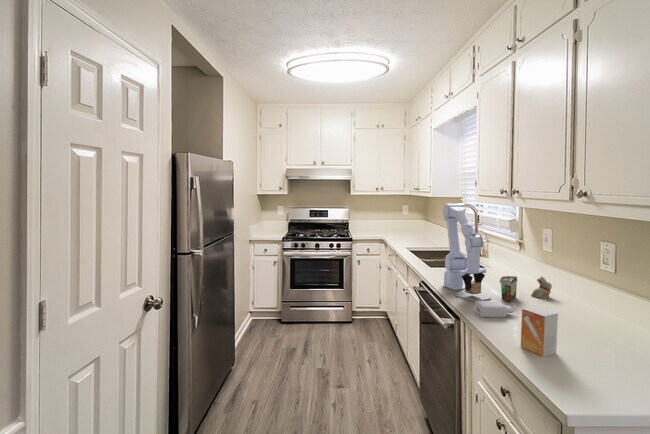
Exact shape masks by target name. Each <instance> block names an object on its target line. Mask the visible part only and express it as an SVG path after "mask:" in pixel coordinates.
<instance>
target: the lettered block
mask: <svg viewBox="0 0 650 434" xmlns="http://www.w3.org/2000/svg"><path fill="white" fill-rule="evenodd" d="M464 287H465V286H464ZM464 293H470V294H480V295H481V293H482V282H481V283H480V282H477V281H474V280H472V281H471V289H470V290H467V289H466V287H465V289H464Z"/></svg>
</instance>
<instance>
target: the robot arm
mask: <svg viewBox="0 0 650 434" xmlns="http://www.w3.org/2000/svg"><path fill="white" fill-rule="evenodd" d="M442 214H443V220H444V221H445V222H446V227H447V237H448V246H449V253H448V254H446V255H445V258H444V259H445V261H444V268H445V269H446V270H445V271H444V275H443V285H442V287H445V288H447V289H450V290H454V291H457V290H465V287H466V289H467V290H470V289H471V281H477V282H480V283H481V284H482V282H483V279H484V278H486V277H485V276H486V273H487V268H483V267H482V268H480V267H481V266H480V265H481V263H480V262H481V261H480V260H481V248H482V247H483V244H484V240H483V237H482V236H481V235H479V234H478V233H477V232H476V230H475V227H474V226H473V225H472V224H471V223H469V221H468V219H467V216H466V206H465V204H464V203H445V204H444V205H443V209H442ZM457 223H459V225H460V226H461V227H460V232H461V234H462V235H463V238H464V246H465V251H466V255H465V254H464V253H462V252H461V248H460V241H459V233H458V232H459V231H458V224H457ZM471 275H473V276H471Z"/></svg>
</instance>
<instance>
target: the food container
mask: <svg viewBox="0 0 650 434" xmlns="http://www.w3.org/2000/svg"><path fill="white" fill-rule="evenodd" d="M499 284H500V285H501V286H500V288H501V289H500V290H501V300H502V301H504V302H506V303H513V302H514V301H515V299H516V298H517V286H518V285H517V284H518V276H514V275H512V276H511V275H507V276H506V275H504V276H501V277H500V278H499Z"/></svg>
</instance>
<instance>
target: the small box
mask: <svg viewBox="0 0 650 434" xmlns="http://www.w3.org/2000/svg"><path fill="white" fill-rule="evenodd" d="M558 316H559V314H558V312H554V311H551V310H548V309H544V308H541V307H538V306H536V305H535V306H530V307H525V308H522V310H521V331H520V348H523V349H525V350H527V351H529V352H532V353H534V354H536V355H539V356H541V357H542V358H544V357H548V356H552V355H555V354H557V346H558V345H557V342H558V321H559V320H558V318H559V317H558Z"/></svg>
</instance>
